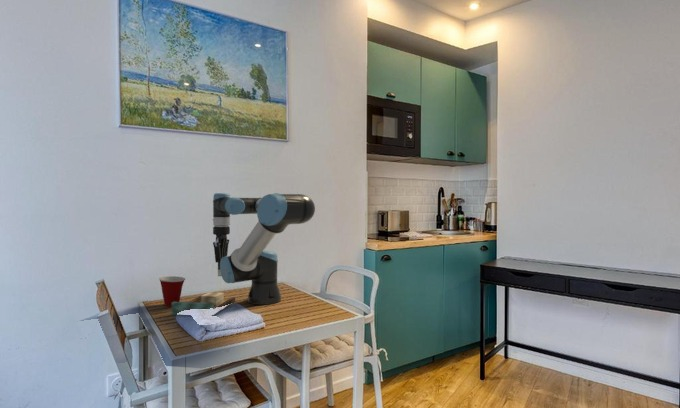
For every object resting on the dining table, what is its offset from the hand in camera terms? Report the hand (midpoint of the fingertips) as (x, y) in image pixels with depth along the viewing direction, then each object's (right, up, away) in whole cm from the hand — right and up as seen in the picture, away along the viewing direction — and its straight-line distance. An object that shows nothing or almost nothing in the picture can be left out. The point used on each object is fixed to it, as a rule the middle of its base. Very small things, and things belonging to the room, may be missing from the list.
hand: (221, 276), depth 186 cm
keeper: (-1, -11, -9) cm, 14 cm away
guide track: (-2, -11, -15) cm, 19 cm away
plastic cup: (-18, -11, -11) cm, 24 cm away
